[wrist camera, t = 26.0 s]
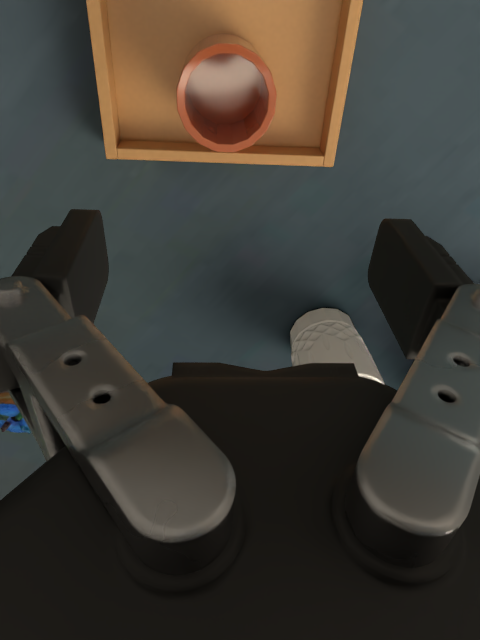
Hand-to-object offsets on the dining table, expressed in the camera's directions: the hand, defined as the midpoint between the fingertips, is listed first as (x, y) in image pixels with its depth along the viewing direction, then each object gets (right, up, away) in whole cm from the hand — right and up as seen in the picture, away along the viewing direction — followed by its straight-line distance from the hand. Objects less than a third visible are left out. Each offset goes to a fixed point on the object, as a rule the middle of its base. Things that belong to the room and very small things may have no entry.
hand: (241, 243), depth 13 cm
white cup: (+8, -3, +34) cm, 35 cm away
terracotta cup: (-1, +14, +18) cm, 23 cm away
